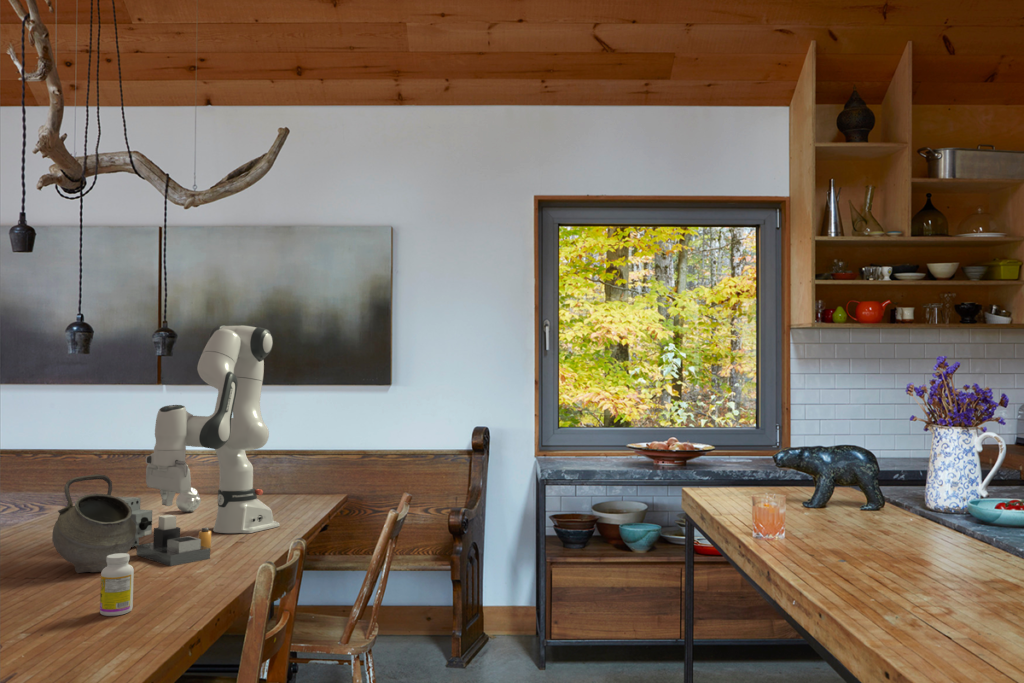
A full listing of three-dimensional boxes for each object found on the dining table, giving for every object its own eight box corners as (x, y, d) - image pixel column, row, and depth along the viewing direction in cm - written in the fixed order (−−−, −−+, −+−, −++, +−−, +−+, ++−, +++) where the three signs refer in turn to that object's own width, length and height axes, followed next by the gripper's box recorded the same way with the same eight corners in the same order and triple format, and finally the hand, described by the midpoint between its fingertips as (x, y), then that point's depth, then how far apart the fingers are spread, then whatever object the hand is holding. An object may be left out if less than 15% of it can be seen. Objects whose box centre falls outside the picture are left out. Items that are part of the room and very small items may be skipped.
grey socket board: (175, 548, 237) (176, 522, 237) (209, 558, 224) (210, 531, 225) (136, 555, 227) (137, 528, 228) (170, 566, 215) (171, 537, 215)
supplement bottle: (107, 608, 176) (109, 552, 177) (137, 607, 177) (139, 551, 177) (94, 617, 169) (96, 558, 170) (125, 616, 170) (127, 558, 170)
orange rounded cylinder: (206, 549, 236) (207, 526, 236) (213, 551, 234) (213, 528, 234) (195, 551, 233) (196, 528, 234) (202, 553, 231) (202, 529, 231)
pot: (57, 562, 217) (60, 474, 219) (137, 556, 225) (140, 471, 227) (44, 580, 198) (48, 484, 200) (132, 573, 207) (136, 480, 208)
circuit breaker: (139, 551, 232) (141, 502, 233) (99, 549, 235) (100, 500, 235) (155, 546, 239) (157, 498, 240) (116, 543, 242) (118, 496, 243)
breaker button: (169, 531, 231) (170, 514, 231) (175, 532, 229) (176, 516, 229) (158, 533, 228) (158, 516, 228) (164, 534, 226) (164, 517, 226)
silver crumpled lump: (175, 515, 293) (176, 488, 293) (176, 510, 301) (177, 485, 302) (200, 513, 296) (201, 487, 296) (200, 509, 305) (201, 484, 305)
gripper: (197, 461, 225) (195, 508, 225) (162, 456, 238) (160, 500, 237) (177, 462, 221) (174, 510, 220) (142, 457, 233) (140, 502, 232)
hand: (167, 505), depth 229 cm, fingers closed
